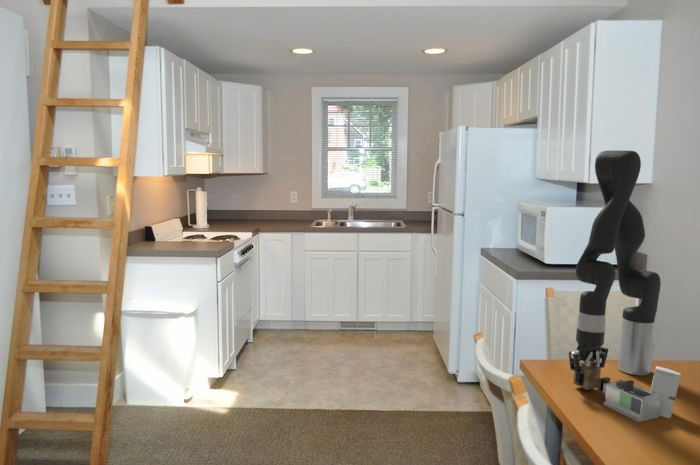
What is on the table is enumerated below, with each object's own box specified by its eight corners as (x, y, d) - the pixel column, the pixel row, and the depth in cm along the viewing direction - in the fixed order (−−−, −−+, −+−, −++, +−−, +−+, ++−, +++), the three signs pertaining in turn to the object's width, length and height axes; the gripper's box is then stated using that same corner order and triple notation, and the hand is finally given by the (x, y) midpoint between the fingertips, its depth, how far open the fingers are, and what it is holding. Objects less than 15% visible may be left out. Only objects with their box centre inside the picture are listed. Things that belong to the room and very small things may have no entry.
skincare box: (645, 411, 146) (654, 368, 145) (646, 407, 150) (655, 365, 149) (671, 419, 143) (681, 375, 142) (671, 415, 147) (680, 372, 146)
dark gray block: (630, 389, 145) (630, 380, 145) (633, 390, 144) (633, 381, 144) (623, 390, 144) (624, 381, 144) (626, 392, 143) (627, 382, 143)
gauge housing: (623, 400, 154) (625, 380, 153) (659, 416, 144) (662, 395, 143) (603, 404, 150) (605, 384, 150) (639, 422, 141) (641, 400, 140)
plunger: (606, 388, 156) (607, 370, 156) (635, 402, 148) (637, 382, 147) (592, 391, 154) (593, 372, 153) (621, 405, 146) (622, 385, 145)
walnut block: (585, 381, 164) (586, 361, 163) (599, 387, 160) (600, 367, 159) (573, 383, 162) (574, 364, 161) (586, 389, 158) (588, 370, 157)
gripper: (597, 321, 165) (593, 375, 167) (562, 326, 159) (558, 382, 161) (618, 328, 158) (614, 384, 160) (583, 333, 152) (578, 391, 154)
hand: (586, 382), depth 161 cm, fingers closed on walnut block, 5 cm apart
